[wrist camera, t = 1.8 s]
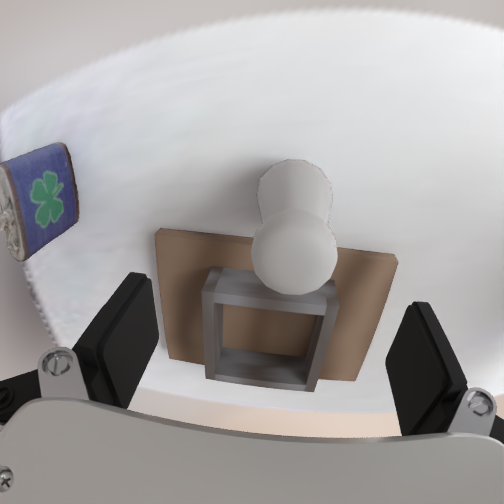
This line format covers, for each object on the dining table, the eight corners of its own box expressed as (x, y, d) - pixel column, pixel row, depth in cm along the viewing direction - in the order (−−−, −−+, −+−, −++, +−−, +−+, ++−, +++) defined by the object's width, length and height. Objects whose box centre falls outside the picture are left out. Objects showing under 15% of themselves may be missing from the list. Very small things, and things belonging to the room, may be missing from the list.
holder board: (394, 254, 28) (410, 286, 23) (353, 371, 35) (358, 407, 30) (160, 228, 30) (135, 255, 25) (173, 349, 37) (158, 382, 32)
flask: (51, 142, 27) (-26, 172, 17) (71, 139, 26) (-7, 169, 17) (64, 224, 31) (1, 273, 22) (84, 225, 31) (20, 277, 21)
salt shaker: (246, 180, 26) (206, 250, 15) (302, 140, 24) (308, 179, 13) (287, 232, 28) (280, 331, 17) (342, 196, 26) (376, 278, 15)
